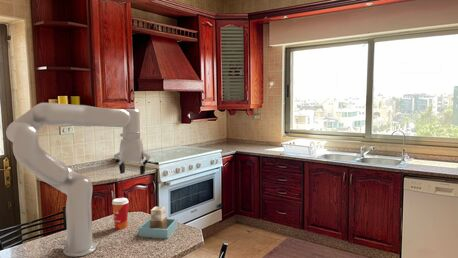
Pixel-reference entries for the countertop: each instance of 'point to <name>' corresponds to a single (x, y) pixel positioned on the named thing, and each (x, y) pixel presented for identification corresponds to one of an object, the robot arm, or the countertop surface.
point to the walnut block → (159, 224)
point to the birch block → (157, 213)
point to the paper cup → (120, 212)
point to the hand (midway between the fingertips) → (132, 173)
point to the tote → (157, 233)
